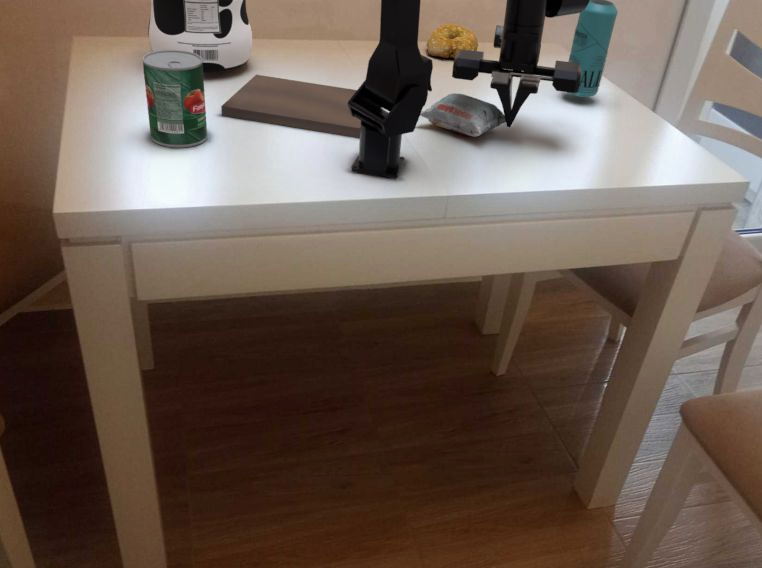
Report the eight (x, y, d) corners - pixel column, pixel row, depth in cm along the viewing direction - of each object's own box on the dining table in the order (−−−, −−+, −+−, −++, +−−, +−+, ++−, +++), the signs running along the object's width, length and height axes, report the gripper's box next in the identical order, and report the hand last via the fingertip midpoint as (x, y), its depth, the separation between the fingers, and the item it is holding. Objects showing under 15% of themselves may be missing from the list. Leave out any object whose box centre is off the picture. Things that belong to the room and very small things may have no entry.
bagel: (413, 50, 154) (416, 25, 151) (451, 43, 160) (454, 19, 157) (449, 64, 148) (452, 39, 145) (487, 56, 155) (491, 32, 152)
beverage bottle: (573, 90, 143) (600, -27, 131) (603, 101, 139) (633, -18, 127) (552, 96, 139) (578, -24, 127) (582, 108, 135) (612, -15, 123)
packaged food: (478, 148, 117) (483, 116, 114) (414, 126, 122) (418, 95, 119) (506, 134, 123) (512, 103, 120) (444, 113, 128) (448, 83, 125)
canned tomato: (146, 128, 112) (137, 50, 105) (201, 124, 115) (196, 48, 108) (155, 150, 106) (147, 69, 100) (213, 145, 109) (208, 67, 102)
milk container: (205, 43, 145) (199, -63, 134) (273, 67, 138) (272, -44, 127) (130, 61, 134) (116, -54, 123) (199, 88, 126) (192, -31, 115)
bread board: (361, 138, 116) (362, 128, 115) (221, 115, 118) (221, 106, 117) (383, 103, 129) (383, 94, 128) (256, 83, 131) (256, 74, 130)
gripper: (590, 14, 116) (570, 115, 126) (467, 0, 118) (456, 101, 128) (589, 34, 107) (568, 141, 117) (457, 19, 109) (446, 125, 119)
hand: (508, 126), depth 120 cm, fingers closed
